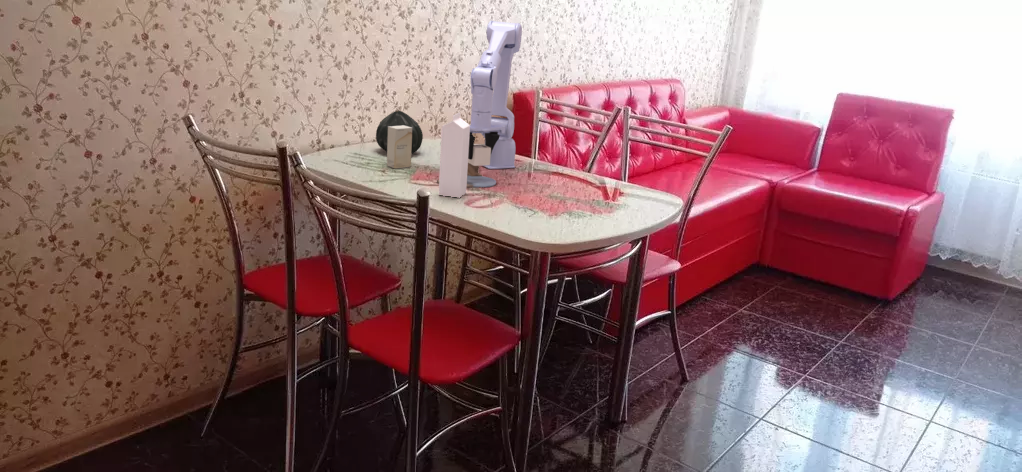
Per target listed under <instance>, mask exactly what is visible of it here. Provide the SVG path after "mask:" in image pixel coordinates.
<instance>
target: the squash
mask: <svg viewBox="0 0 1022 472" xmlns="http://www.w3.org/2000/svg"><path fill="white" fill-rule="evenodd" d="M402 125H405V126H408V127H412V149H411V155H412V154H415V153H416V152H417V151H418V150H419V149H420V148H421V146H422V144H423V139H424V136H423V130H422V128H421V126H420V125H419V123H418V122H417V121H416V120H415V119H414V118H413V117H411V116H410V115H409V114H407V113H405V112H403V111H401V110H395V111H393V112H391V113H390V114H388V115H387V116H385V117H384V118H383V119H381V121H380V122H379V123H378V126H377V128H376V131H375V132H376V133H375V140H376V143H377V145H378V147H380V148H381V149H382V150H383V151H385V152H387V144H388V126H402Z"/></svg>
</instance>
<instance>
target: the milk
mask: <svg viewBox="0 0 1022 472" xmlns="http://www.w3.org/2000/svg"><path fill="white" fill-rule="evenodd" d="M470 125H471V124H469V123H468V122H466V121H465V120H464V119H463V118H461V112H460V111H459V112H457V113H455V114H453V115H452V121H449V122H447V123H446V124H443V125H441V131H440V132H441V135H440V136H441V137H440V154H439V155H440V159H439V160H440V161H439V176H438V177H439V179H438V180H439V183H438V196H439V195H443V196H442V197H445V196H451V197H450V198H452V197H459V198H458V199H461V198H462V197H463V196H465V195H466V194H467V188H466V187H467V170H468V153H469V135H470ZM465 193H466V194H465ZM462 195H463V196H462ZM461 196H462V197H461ZM460 197H461V198H460Z"/></svg>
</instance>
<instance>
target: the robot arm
mask: <svg viewBox="0 0 1022 472" xmlns="http://www.w3.org/2000/svg"><path fill="white" fill-rule="evenodd" d="M522 35H523V27H522V24H521V23H520V22H507V21H495V20H489V22H488V24H487V26H486V39H487V42H488V48H487V49H486V50H484V51H483V52H482V54H481V56H480V58H479V61H478V63H477V66H475V68H472V69H471V72H470V93H471V97H472V98H471V110H470V111H471V112H470V113H471V114H470V124H469V125H470V135H469V153H468V159H472V158H473V146H474V144H475V141H476V136H474V134H481V135H482V136H483V139H484V145H486V146H488V147H490V148H491V156H490V165H482V167H485V168H486V169H488V170H494V169H495V170H497V169H515V168H516V165H515V160H516V158H515V157H516V142H515V140H514V138H512V137H513V136H514V130H515V115H514V113H513V112H512V111H511V110H510V109H509V108H508V107H507V106H508V99H509V98H508V96H509V91H510V90H509V89H510V80H511V73H512V63H513V58H514V54H516V53H518V52H520V49H521V44H522V43H521V42H522Z"/></svg>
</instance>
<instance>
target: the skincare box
mask: <svg viewBox="0 0 1022 472" xmlns="http://www.w3.org/2000/svg"><path fill="white" fill-rule="evenodd" d="M411 149H412V127H408V126H405V125H402V126H388V144H387V151H386V155H387V156H386V166H387V167H389V168H392V169H402V168H403V169H404V168H410V167H411V166H412V154H411Z"/></svg>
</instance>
